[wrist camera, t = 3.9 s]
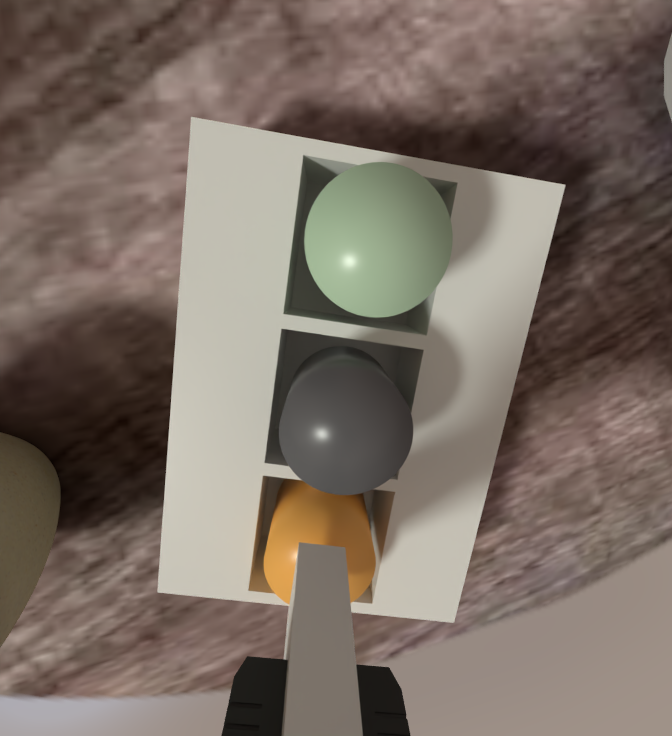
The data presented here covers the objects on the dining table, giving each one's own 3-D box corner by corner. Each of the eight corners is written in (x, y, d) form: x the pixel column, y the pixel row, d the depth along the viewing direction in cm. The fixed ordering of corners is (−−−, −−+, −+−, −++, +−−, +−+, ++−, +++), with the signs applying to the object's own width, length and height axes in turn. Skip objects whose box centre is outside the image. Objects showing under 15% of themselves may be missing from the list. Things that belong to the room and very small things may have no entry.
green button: (317, 185, 14) (315, 149, 10) (427, 205, 14) (467, 176, 10) (302, 299, 15) (294, 305, 11) (406, 315, 15) (435, 327, 11)
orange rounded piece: (282, 457, 18) (270, 507, 14) (371, 468, 18) (384, 521, 14) (271, 537, 18) (257, 606, 14) (356, 546, 19) (365, 617, 15)
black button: (296, 338, 15) (288, 358, 11) (399, 354, 15) (425, 378, 12) (283, 436, 16) (271, 486, 12) (381, 449, 16) (400, 502, 12)
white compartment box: (222, 156, 16) (191, 116, 12) (508, 207, 17) (565, 184, 13) (190, 530, 20) (157, 592, 16) (428, 557, 20) (453, 622, 16)
